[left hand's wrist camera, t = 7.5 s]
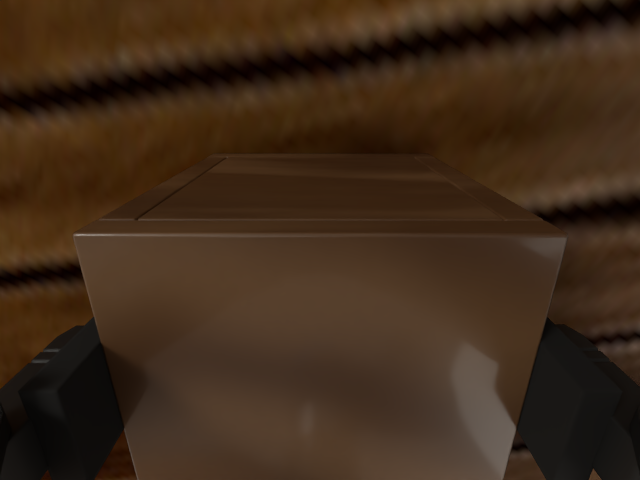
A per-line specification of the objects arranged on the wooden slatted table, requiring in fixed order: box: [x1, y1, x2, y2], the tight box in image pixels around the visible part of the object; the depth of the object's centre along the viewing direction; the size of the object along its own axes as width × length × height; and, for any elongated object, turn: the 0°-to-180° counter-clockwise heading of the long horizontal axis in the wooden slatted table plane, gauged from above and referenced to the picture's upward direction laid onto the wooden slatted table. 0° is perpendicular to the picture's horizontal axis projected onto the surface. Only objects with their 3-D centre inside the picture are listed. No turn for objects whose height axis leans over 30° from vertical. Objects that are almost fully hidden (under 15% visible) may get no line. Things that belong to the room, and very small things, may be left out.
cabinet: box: [73, 154, 568, 480], centre depth 16 cm, size 20×10×11 cm, turn 0°
